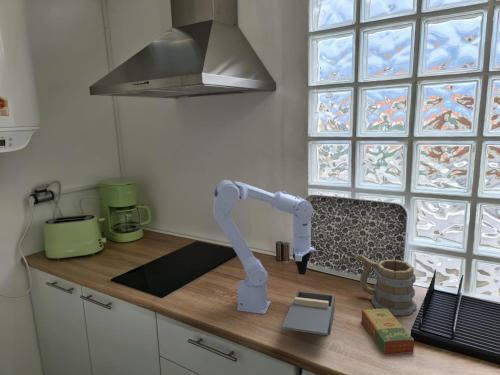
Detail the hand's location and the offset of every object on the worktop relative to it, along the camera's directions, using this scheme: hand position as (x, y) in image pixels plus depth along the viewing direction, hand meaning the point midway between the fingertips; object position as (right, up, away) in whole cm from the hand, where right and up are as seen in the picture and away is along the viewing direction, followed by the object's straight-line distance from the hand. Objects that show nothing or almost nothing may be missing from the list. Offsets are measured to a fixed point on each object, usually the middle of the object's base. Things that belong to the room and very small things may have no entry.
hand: (302, 273), depth 120 cm
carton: (+21, -14, -19) cm, 31 cm away
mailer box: (+2, -12, -9) cm, 15 cm away
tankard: (+27, -10, -1) cm, 29 cm away
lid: (-1, -8, -19) cm, 20 cm away
